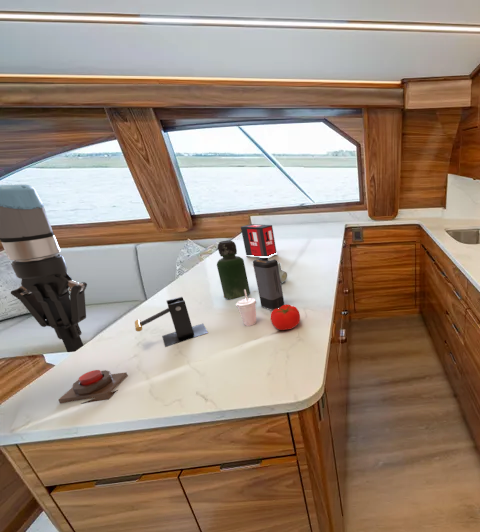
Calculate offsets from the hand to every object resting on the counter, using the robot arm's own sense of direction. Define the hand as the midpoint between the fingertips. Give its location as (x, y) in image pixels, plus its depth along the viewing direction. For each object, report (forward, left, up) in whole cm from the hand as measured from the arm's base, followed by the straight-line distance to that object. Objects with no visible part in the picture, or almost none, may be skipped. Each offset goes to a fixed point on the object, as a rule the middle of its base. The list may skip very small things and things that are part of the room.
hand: (75, 348), depth 73 cm
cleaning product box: (+15, +123, -14) cm, 125 cm away
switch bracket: (+11, +24, -13) cm, 30 cm away
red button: (0, 0, -10) cm, 10 cm away
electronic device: (+36, +42, -14) cm, 57 cm away
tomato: (+44, +24, -14) cm, 52 cm away
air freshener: (+33, +70, -14) cm, 79 cm away
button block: (0, 0, -13) cm, 13 cm away
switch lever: (+8, +22, -4) cm, 23 cm away
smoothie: (+31, +27, -14) cm, 44 cm away
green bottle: (+18, +58, -14) cm, 62 cm away
